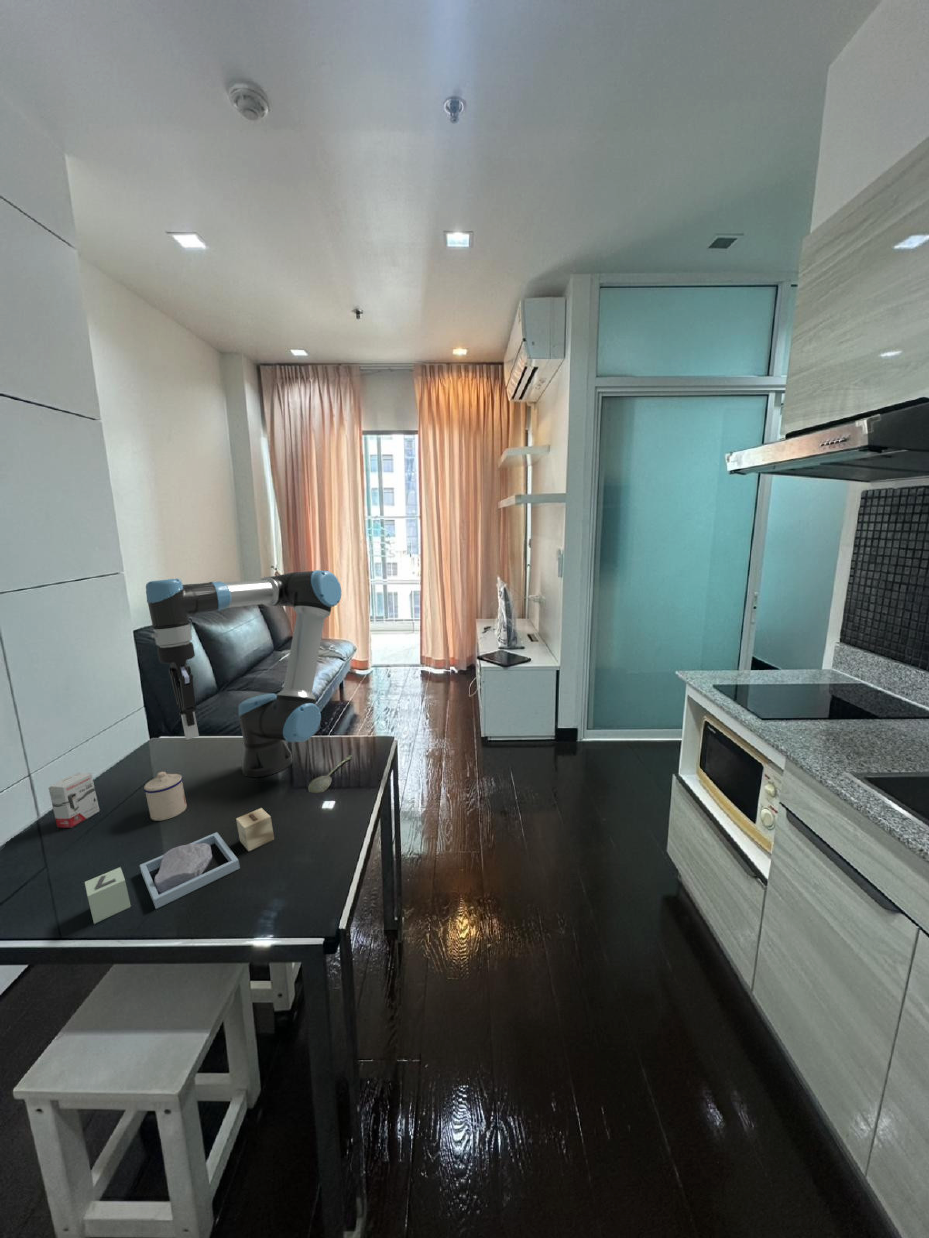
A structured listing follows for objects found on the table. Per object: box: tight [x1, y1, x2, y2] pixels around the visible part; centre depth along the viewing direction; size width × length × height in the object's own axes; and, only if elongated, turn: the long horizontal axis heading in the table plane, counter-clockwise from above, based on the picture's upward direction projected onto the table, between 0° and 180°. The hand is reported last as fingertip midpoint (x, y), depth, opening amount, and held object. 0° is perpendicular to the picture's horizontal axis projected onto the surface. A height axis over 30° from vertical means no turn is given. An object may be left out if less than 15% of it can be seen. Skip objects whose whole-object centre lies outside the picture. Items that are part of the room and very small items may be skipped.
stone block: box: [154, 843, 213, 895], centre depth 107 cm, size 12×5×10 cm
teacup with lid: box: [143, 771, 188, 822], centre depth 134 cm, size 12×9×12 cm
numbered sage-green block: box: [84, 866, 132, 925], centre depth 98 cm, size 6×6×6 cm
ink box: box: [48, 772, 101, 829], centre depth 134 cm, size 9×5×12 cm, turn 168°
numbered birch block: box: [235, 807, 275, 852], centre depth 117 cm, size 6×6×6 cm
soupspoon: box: [307, 754, 353, 794], centre depth 148 cm, size 22×3×7 cm
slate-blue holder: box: [139, 831, 241, 910], centre depth 108 cm, size 16×16×2 cm
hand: (192, 736), depth 121 cm, fingers closed
